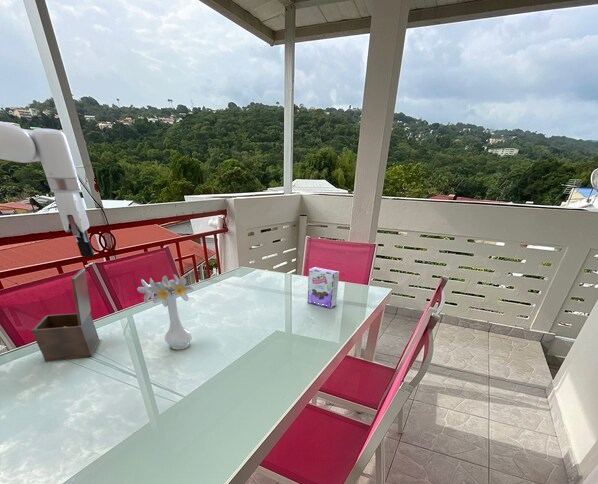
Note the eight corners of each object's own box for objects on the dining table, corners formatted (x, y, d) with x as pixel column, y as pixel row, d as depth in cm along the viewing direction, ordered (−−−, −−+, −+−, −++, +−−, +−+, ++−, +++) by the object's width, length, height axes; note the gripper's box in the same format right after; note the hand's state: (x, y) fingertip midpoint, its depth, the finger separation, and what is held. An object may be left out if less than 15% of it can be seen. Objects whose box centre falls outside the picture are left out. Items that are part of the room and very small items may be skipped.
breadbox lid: (70, 278, 98) (74, 279, 99) (82, 267, 109) (85, 268, 110) (78, 325, 106) (81, 325, 106) (88, 310, 117) (91, 311, 117)
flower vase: (161, 337, 127) (145, 270, 113) (208, 340, 126) (198, 272, 112) (145, 353, 116) (125, 280, 102) (196, 356, 115) (184, 282, 101)
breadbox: (45, 361, 109) (31, 330, 103) (57, 344, 120) (45, 315, 114) (91, 357, 113) (80, 326, 106) (99, 340, 123) (90, 312, 117)
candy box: (306, 302, 165) (308, 268, 156) (313, 299, 169) (314, 266, 160) (330, 308, 159) (333, 273, 150) (336, 305, 163) (339, 270, 154)
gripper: (58, 184, 97) (80, 251, 107) (40, 186, 85) (67, 261, 96) (86, 185, 99) (105, 250, 109) (73, 187, 87) (96, 260, 97)
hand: (87, 255), depth 102 cm, fingers closed
